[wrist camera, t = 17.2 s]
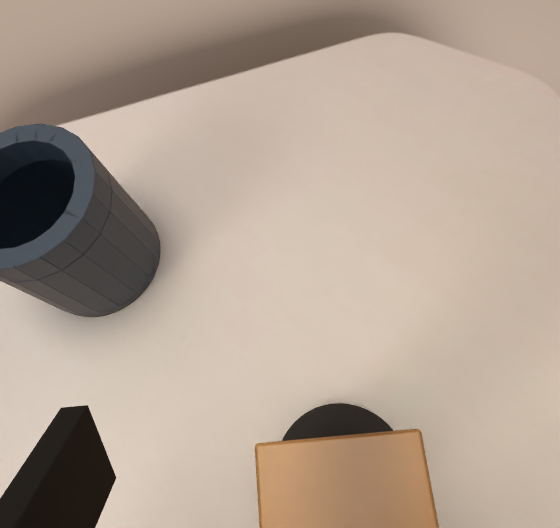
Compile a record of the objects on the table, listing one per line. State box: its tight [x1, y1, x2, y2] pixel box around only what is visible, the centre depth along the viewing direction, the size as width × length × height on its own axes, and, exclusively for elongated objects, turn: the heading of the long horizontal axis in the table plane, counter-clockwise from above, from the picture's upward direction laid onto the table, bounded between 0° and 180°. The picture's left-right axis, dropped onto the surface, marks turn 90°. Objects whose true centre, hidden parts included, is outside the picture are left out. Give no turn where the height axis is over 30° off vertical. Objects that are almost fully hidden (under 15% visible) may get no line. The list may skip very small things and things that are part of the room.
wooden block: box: [255, 429, 439, 528], centre depth 19 cm, size 4×4×18 cm
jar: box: [0, 124, 160, 317], centre depth 30 cm, size 9×9×10 cm
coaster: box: [282, 403, 393, 441], centre depth 27 cm, size 8×8×1 cm
